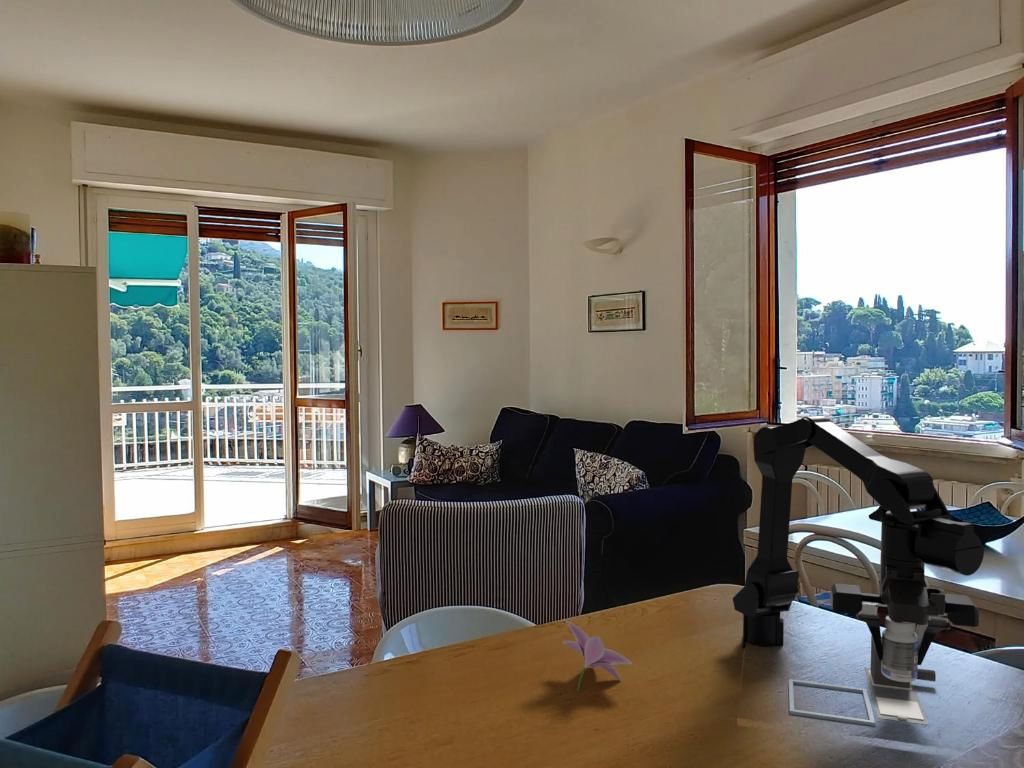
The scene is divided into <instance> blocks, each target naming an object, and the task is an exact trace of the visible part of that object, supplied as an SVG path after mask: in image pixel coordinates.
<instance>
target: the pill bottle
mask: <svg viewBox="0 0 1024 768" xmlns="http://www.w3.org/2000/svg"><path fill="white" fill-rule="evenodd" d="M884 623H885V624H884V625H885V626H884V627H885V628H884V629H883V630H882V632H881V637H882V651H883V654H882V664H881V671H882V674H883V675H884V676H885V677H887V678H889V679H891V680H895V681H900V682H912V683H913V682H915V681H916V680H918V679H917V672H918V669H919V667H918V666H919V665H918V634H917V633H916V631H917V624H916V623H908V622H902V623H897V622H894V621H892V620H891V619H890V618H889V615H886V616H885V621H884Z"/></svg>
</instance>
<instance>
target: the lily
mask: <svg viewBox="0 0 1024 768" xmlns="http://www.w3.org/2000/svg"><path fill="white" fill-rule="evenodd" d="M564 622H565V623H566V625H567V627H568V628H569V629H570V630H571V632H572V634H573V636H574V639H575V640H565V641H562V644H563V645H565V646H568V648H571V649H572V650H574V651H576V652H578V653H580V654H581V656H582V658H583V660H584V667H583V669H582V670H581V673H580V676H579V679H578V680H579V681H578V682H577V683H578V684H577V688H576V690H577V691H579V690H580V686H581V682H582V680H583V679H582V678H583V675H584V674H585V671H586V668H588V667H589V668H590V669H596V668H597V669H598V668H600V667H601V668H602V669H603V670H605V671H607V672H608V673H610V674H611V675H612V676H613V677H614V678H616V679H617V680H618V681H620V682H621V680H622V679H621V677H620V674H619V673H618V671H617V670H616V668H615V667H614V665H615V666H617V665H632V664H633V662H632V661H631V660H629V659H628V658H627V657H625V656H624V655H623V654H621V653H619V652H618V651H615V650H612V649H610V648H605V645H604V643H603V640H602V639H601V637H600V636H598V635H594V636H591V637H589V635H588V634H587V633H586V632H585V631H584V630H583V629H582V628H580V627H579V626H577V624H576V625H575V623H573V622H571V621H569V620H566V619H565V621H564Z"/></svg>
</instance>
